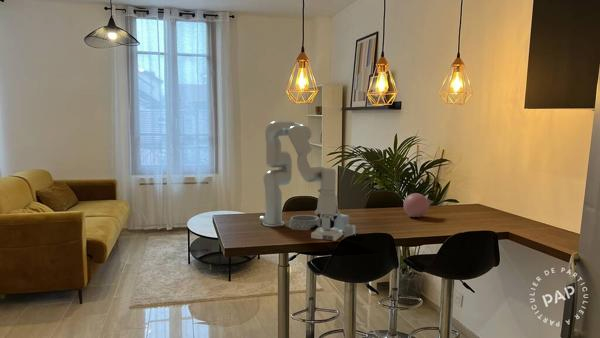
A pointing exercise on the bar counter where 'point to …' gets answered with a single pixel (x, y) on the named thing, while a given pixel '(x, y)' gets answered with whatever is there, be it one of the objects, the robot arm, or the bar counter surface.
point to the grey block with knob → (326, 222)
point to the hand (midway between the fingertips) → (327, 226)
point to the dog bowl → (304, 222)
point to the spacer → (349, 230)
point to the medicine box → (341, 222)
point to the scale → (327, 234)
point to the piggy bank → (416, 205)
